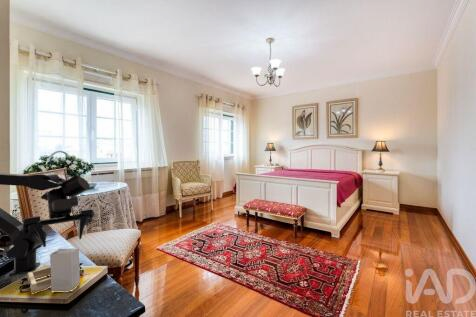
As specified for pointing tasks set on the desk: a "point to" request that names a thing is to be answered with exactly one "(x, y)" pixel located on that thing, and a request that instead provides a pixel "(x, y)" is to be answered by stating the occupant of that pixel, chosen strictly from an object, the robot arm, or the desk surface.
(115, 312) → the desk surface
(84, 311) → the desk surface
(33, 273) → the socket holder
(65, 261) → the skincare box
